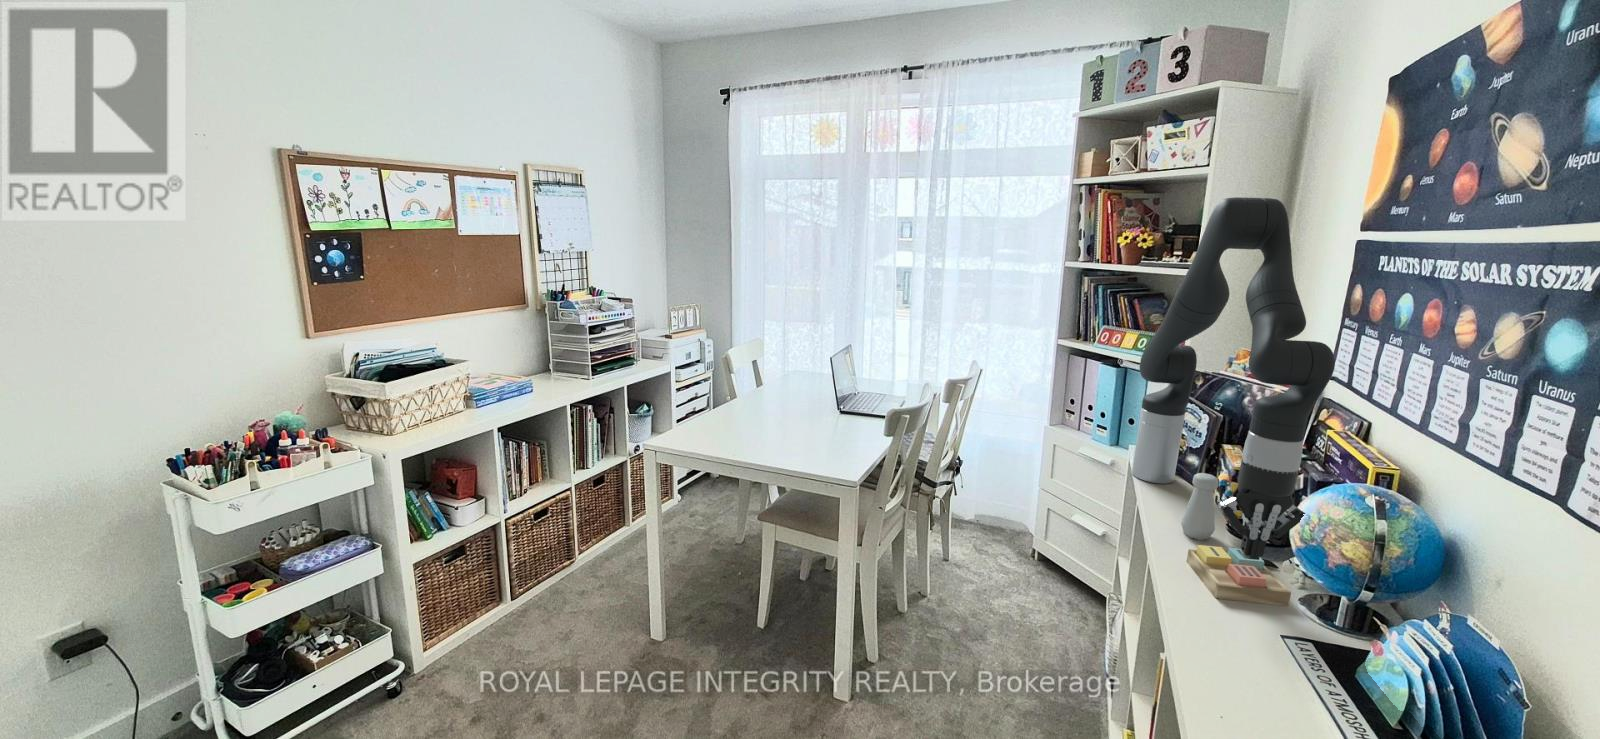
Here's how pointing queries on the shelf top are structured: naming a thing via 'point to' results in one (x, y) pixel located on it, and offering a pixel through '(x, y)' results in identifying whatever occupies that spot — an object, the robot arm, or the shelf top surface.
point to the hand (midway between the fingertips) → (1250, 556)
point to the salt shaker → (1200, 508)
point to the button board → (1229, 590)
